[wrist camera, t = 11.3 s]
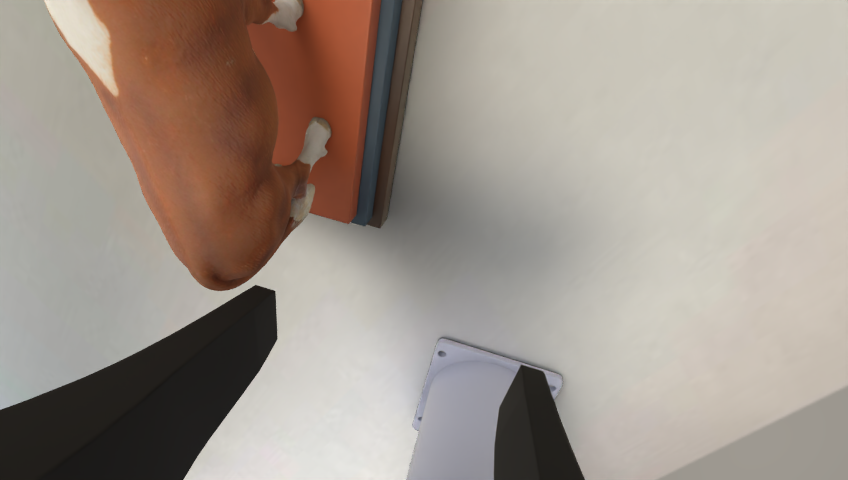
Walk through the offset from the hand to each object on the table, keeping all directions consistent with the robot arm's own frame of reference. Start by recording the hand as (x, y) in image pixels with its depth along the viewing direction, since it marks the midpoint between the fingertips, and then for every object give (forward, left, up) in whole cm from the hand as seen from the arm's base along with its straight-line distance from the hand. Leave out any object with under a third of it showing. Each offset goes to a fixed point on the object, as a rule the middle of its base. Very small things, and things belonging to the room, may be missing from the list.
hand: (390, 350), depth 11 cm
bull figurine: (+6, +8, -7) cm, 12 cm away
